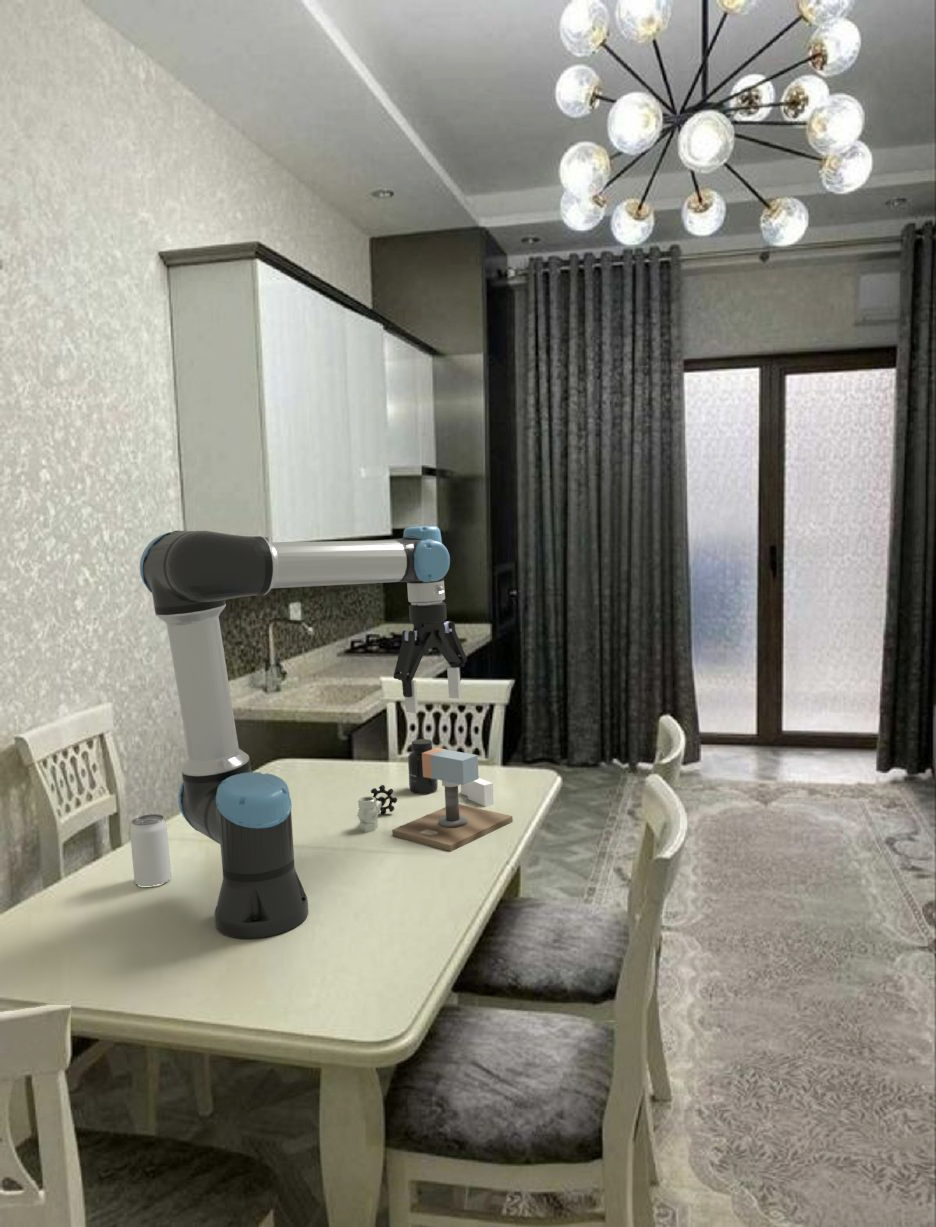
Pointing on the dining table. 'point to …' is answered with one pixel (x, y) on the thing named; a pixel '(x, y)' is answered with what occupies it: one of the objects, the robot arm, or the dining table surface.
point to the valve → (374, 808)
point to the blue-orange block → (450, 766)
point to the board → (452, 824)
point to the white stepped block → (479, 791)
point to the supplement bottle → (420, 769)
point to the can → (150, 850)
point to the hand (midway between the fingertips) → (434, 705)
